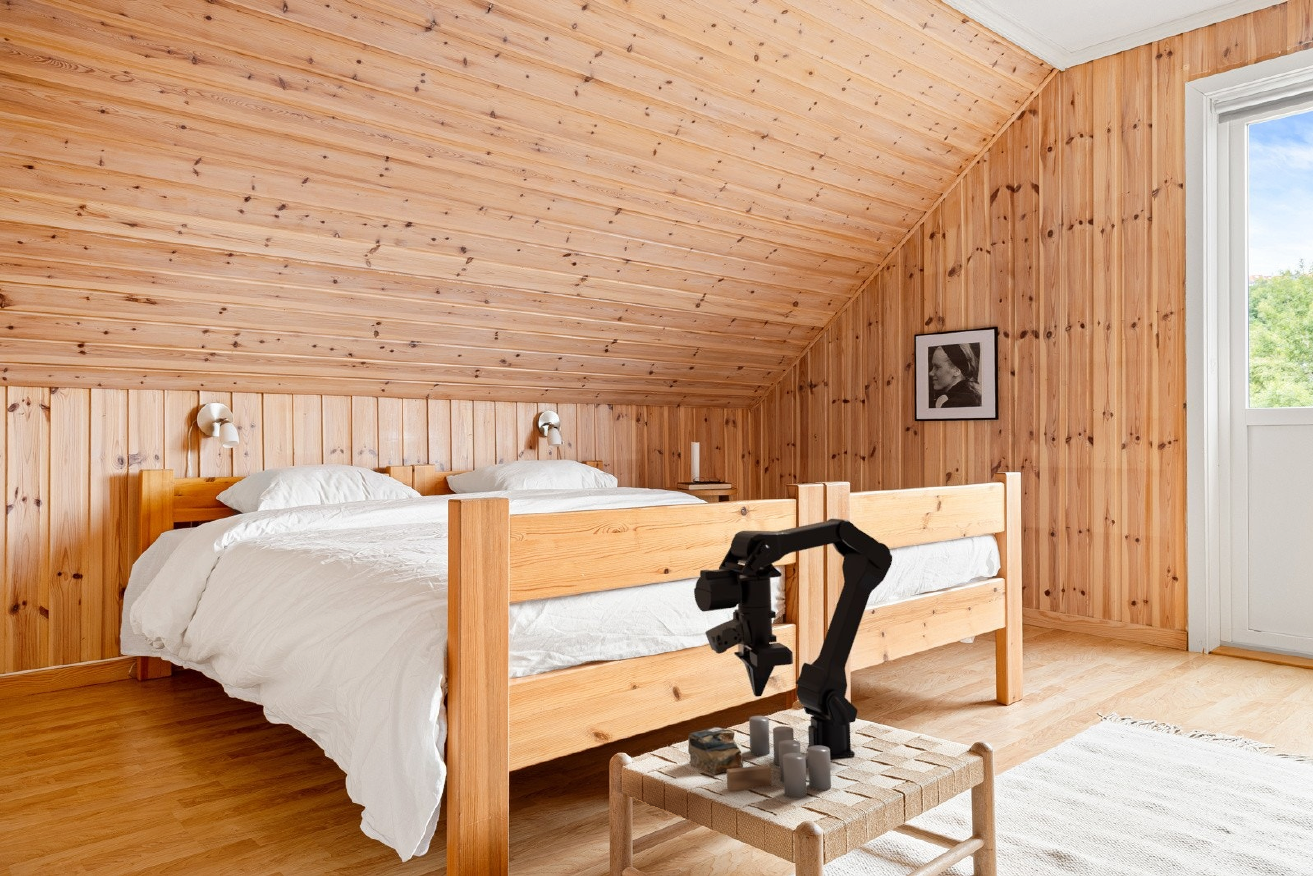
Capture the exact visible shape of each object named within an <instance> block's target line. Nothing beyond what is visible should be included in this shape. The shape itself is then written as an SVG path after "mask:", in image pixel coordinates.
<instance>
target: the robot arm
mask: <svg viewBox="0 0 1313 876" xmlns="http://www.w3.org/2000/svg"><path fill="white" fill-rule="evenodd" d="M828 545H832V546H833V547H834V549H835V550H836V552H837V553H838V554H839V555H840V556H842V558H843V561H842V566H841V570H842V575H843V576H842V577H843V586H842V589H841V592H840V594H839V598H838V600H837V604H836V606H835V609H834V612H833V615H832V617H831V621H830V623H829V626H828V628H827V632H826V635H825V638H824V640H823V644H822V646H821V649H820V652H819V655H818V656H817V658H816V659H815V660H814V661H813V662H812V663H808V662H804V663H803V664H802V665H801V670H800V675H799V676H798V678H797V680H796V681H795V684H796V685H797V687H796V692H795V693H796V696H797V699H798V701H799V703H800V704H801V705H802V706H803V707H802V708H803V709H804V713H805V714H806V715H810V725H808V726H807V728H808V731H807V732H808V745H807V749H808V748H809V747H811V746H826V747H828V748H829V749H830V759H839V758H845V757H854V756H855V755H856V753H855V751H853V750H852V747H851V723H855V721H857V720H856V718H857V715H858V709H857V707H855V706H854V705H853V704H852V703H851V702H850V700H848V699H847V698H846V694H847V690H848V681H847V675H846V674H847V673H846V666H847V662H848V659H849V657H850V653H851V650H852V648H853V645H854V642H855V639H856V636H857V634H858V631H859V627H860V624H861V621H862V618H863V616H864V613H865V611H866V607H867V605H868V602H869V598H870V597H871V593H872V592H873V591H874V590H875V589H876V588H877V587H878V586H879V585H880V584H881V583H882V582H883V581H884V580H885V578H886V576H887V574H888V572H889V570H890V568H891V566H892V563H893V562H892V561H893V555H892V554H891V550H890V549H889V547H888V546H887V545H886V544H885V543H883V542H879V541H878V540H877V539H875V538H874V537H872V536H871V535H869V534H868V533H865V532H864V531H863V530H860V529H859V528H858V527H857V526H856V525H855V524H853V523H852V522H851V521H850V520H847V519H841V518H829V519H828V520H825V521H820V522H816V523H810V524H805V525H801V526H796V527H791V528H787V529H781V530H776V531H775V530H773V531H772V530H740V531H738V532H737V533H736V534H734V537H733V538H732V539H731V543H730V547H729V549H728V551H727V552H726V555H724V557H723V560H722V561H721V563H720V564H719V567H718V569H712V570H711V569H701V570H700V571H699V578H697V580H696V582H695V586H694V587H695V588H693V593H694V600H695V604H696V606H697V608H698V609H699V610H700V611H701V612H703V613H705V612H711V611H720V610H728V609H734V608H736V607H737V609H734V611H733V613H732V619H730V620H728V621H725V622H722V623H720V624H718V625H716V626H714V627H712V628H710V629H708V630H706V631H705V632H704V633H705V636H706V638H707V640H708V643H709V646H710V648H711V651H714V652H715V653H716V654H718V655H719V654H723V653H725V652H727V650H728V649H729V650H730V649H731V648H733V647H735V646H737V650H738V651H735V652H734V653H733V654H734V656H735V657H737V658H738V659H739V660H741V662H742V663H743V664H744V667H745V669H746V673H747V676H748V679H749V683H750V686H751V690H752V693H753V696H754V697H757V698H758V697H762V695H763V693H764V692H765V689H766V686H767V684H768V681H769V679H770V677H771V675H772V673H773V672H774V669H775V668H776V667H778V666H788V665H792V664H794V662H793V661H794V655H793V654H794V653H793V651H792V650H791V649H790V648H789V647H788V646H786V645H784V644H783V643H781V642H777V635H775V634H773V619H775V618H777V616H776V614H777V612H776V611H775V610H773V609H772V586H771V585H772V584H771V583H772V582H771V579H772V578H773V579H774V578H780V577H782V575H783V574H782V572H781V571H779V570H778V569H777V568H776V567H775V566H774V565H773V563H777V562H779V561H780V560H781V559H782V558H784V557H785V556H787V555H789V554H791V553H795V552H800V551H805V550H810V549H813V548H819V547H823V546H828Z"/></svg>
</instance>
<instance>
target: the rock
mask: <svg viewBox="0 0 1313 876" xmlns="http://www.w3.org/2000/svg"><path fill="white" fill-rule="evenodd" d="M687 741H688V747H687V748H688V749H687V750H688V752H687V753H688V755H689V756H690V757H689V758H690V760H689V765H690V766H691V767H693V768H695V769H698V770H701V771H704V772H706V771H709V772H712V774H714V775H716V774H720V773H727V769H733V768H742V767H744V764H743V762H742V761H743V754H742V751H741V749H740V748H739V747H738V744H737V742H736V740H735V732H734V731H733V730H732V729H725V728H723V727H718V726H715V727H712V728H706V729H704V730H700V731H699V730H698V731H694V732H689V734H688V739H687Z"/></svg>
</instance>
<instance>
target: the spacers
mask: <svg viewBox="0 0 1313 876" xmlns="http://www.w3.org/2000/svg"><path fill="white" fill-rule="evenodd" d="M748 719H749V720H748V723H749V727H748V729H749V753H750V754H752V755H755V756H766V755H770V753H771V752H770V751H771V749H770V747H771V746H770V721H769V720H770V719H769V717H768V716H765V715H753V716H749V718H748ZM794 739H795V738H794V728H793V727H790V726H785V725H784V726H782V725H781V726H779V725H778V726H775V727H774V728H772V740H773V741H772V742H773V743H772V744H773V765H774V766H775V767H777V768H779V780H780V782H782V783H783V795H784V797H786V798H788V799H792V800H799V799H804V798H806V797H807V768H808V787H809V788H810V789H811V790H814V791H828V790H830V789H831V788H832V785H831V784H832V780H831V779H832V776H831V775H832V774H831V758H830V749H829V748H828V747H826V746H811V747H809V748H808V747H807V753H808V767H807V766H806V760H805V755H804V754H803V753H801V742H800V741H798V740H794ZM806 767H807V768H806Z"/></svg>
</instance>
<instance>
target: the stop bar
mask: <svg viewBox="0 0 1313 876" xmlns="http://www.w3.org/2000/svg"><path fill="white" fill-rule="evenodd" d="M771 770H772V768H771V766H769V765H768V764H761V765H752V766H743V767H742V768H733V769H727V772H726V787H727V789H728V791H729V792H735V791H743V790H750V789H751V790H752V789H760V788H768V787H772V772H771Z"/></svg>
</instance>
